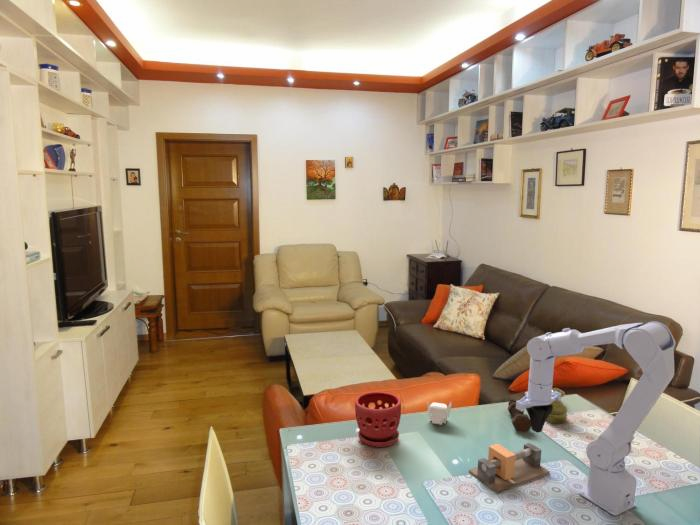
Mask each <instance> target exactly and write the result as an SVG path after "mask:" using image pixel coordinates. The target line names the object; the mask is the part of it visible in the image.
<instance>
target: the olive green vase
mask: <svg viewBox="0 0 700 525" xmlns="http://www.w3.org/2000/svg"><path fill="white" fill-rule="evenodd" d="M552 391H557V392H559V393H561V398H563V397H565V395H566V394H565V391H563V390H562V389H560V388H558V387H552ZM549 405H551V406H553V410H552V411H551V413H550V414H549V415H548V417H547V419H546V421H545V422H547V423H549V424H550V423H551V424H554V425H562V424H563V425H564V424H565V423H566V422H567V419H568V418H567V417H568V410H569V408H568V405H566V404H565V403H564V402H563V401H562V400H560V401H557V400H554V401H553V402H552V403H551V404H549Z"/></svg>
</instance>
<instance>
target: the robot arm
mask: <svg viewBox="0 0 700 525" xmlns="http://www.w3.org/2000/svg"><path fill="white" fill-rule="evenodd" d="M561 330H562V331H559V332H554V333H552V332H551V331H548V332H546V333H545V334H542V335H539V336H535V337H532V339H529V340H528V341H527V344H526V351H527V353H528V355H529V357H530V360H529V373H528V386H527V391H525V392H524V396H523V397H522V398H521V399H519V400H515V401H516V409H518V410H520V411H524V412H525V410H526V413H527V415H528V417H529V419H530V422H531V430H532V431H534V432H536V433H541V432H542V431H543V429H544V426H545V424H546V422H547V421H546V419H547V417H548V415H549V414H550V413H551V411H552V410H553V406H551V405H549V404H551V403H552V402H553V401H554V400H557V401H560V400H561V399H562V397H561V393H559V392H557V391H552V389H553V381H554V368H555V360H556V357H557V358H558V357H563V356H570V355H577V354H581V353H582V352H583V351H584V350H585V348H586V347H591V346H592V347H593V346H600V345H610V344H614V345H616V347H618V348H619V349H620V350H623V349H625V350H626V351H627V353H628V354H629V355H630V356H631V358H632V359H633V360H634V362H636V364H637V365H638V366H639V367H640V369H641V372H642V374H641V376H640V378H639V379H638V380H637V382H636V383H635V385H634V387H633V388H632V390H631V392H629V394H628V396H627V397H626V399H625V401H624V402H623V403H622V405H621V407H620V408H619V410H618V411H617V413H616V414H615V416H614V417H613V419H612V421H611V422H610V423H609V425H608V426H607V427H606V428H605V429H604V430H603V432H601V433H600V435H599V436H598V438H597V439H595V440H593V441H590V442H589V443H588V444H587V445H586V449H585V450H586V451H585V453H586V456H587V459H588V460H589V469H588V477H587V478H588V480H587V487H585V488H584V489H581V490H578V495H581V497H583V498H585V499H587V500H588V501H590V502H591V503H593V504H595V505H596V506H598V507H600V508H602V509H603V510H605V511H606V512H608V513H609V514H611V515H612V516H618V515H620V514H623V513H625V512H626V511H628V510H630V509H633V508H635V507H637V506H636V505H637V504H636V503H635V499H636V490H637V479H636V477H635V476H634V475H633V474H632V473H630V472H629V471H628V470H627V468H626V461H625V459H626V458H625V457H627V456H629V455H630V453H631V451H632V443H633V441H634V439H635V434H636V432H637V430H638V429H639V428H640V426H641V425H642V424H643V421H644V420H645V419H646V418H647V416H648V415H649V413H650V412H651V410H652V409H653V407H654V406H655V405H656V403H657V402H658V400H659V398H660V397H661V395H662V394H663V392H664V391H665V390H666V389H667V387H668V386H669V384H670V382H671V381H672V379H674V376H675V348H676V344H677V343H676V340H675V338H674V336H673V334H672V332H671V330H670V329H669V327H668V326H667V325H665V324H664V323H663V322H659V321H649V322H646V323H644V322H634V323H633V322H632V323H625V324H624V323H623V324H619V325H615V326H610V327H606V328H602V329H596V330H592V331H588V332H580V331H579V330H577V329H571V328H570V327H565V328H563V329H561ZM561 401H562V400H561Z"/></svg>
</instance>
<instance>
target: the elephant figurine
mask: <svg viewBox="0 0 700 525" xmlns="http://www.w3.org/2000/svg"><path fill="white" fill-rule="evenodd" d="M452 406H453V404H452V401H449V404H448V406H447V404H446V403H441V402H434V401H433V402H432V403H431V404H430V402H429V397H428V398H427V415H429V422H431V421H432V422H431V424H434V425H440V426H442V425H443V424H442V423H444V425H445V424H446V423H447V420H448V418H449V416H450V414H451V410H452V409H451V408H452Z"/></svg>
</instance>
